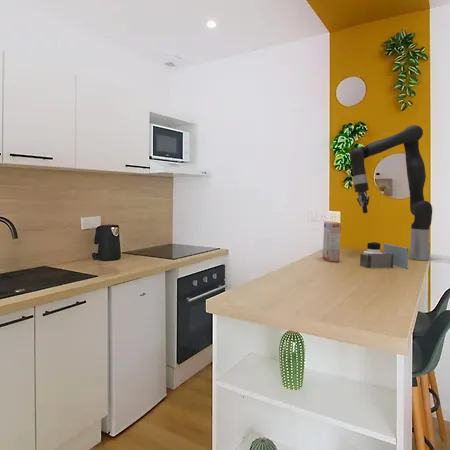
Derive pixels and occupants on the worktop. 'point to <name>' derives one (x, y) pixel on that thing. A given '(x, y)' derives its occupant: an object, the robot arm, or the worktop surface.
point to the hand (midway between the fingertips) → (365, 213)
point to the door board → (397, 255)
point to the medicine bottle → (372, 248)
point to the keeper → (377, 260)
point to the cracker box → (331, 241)
